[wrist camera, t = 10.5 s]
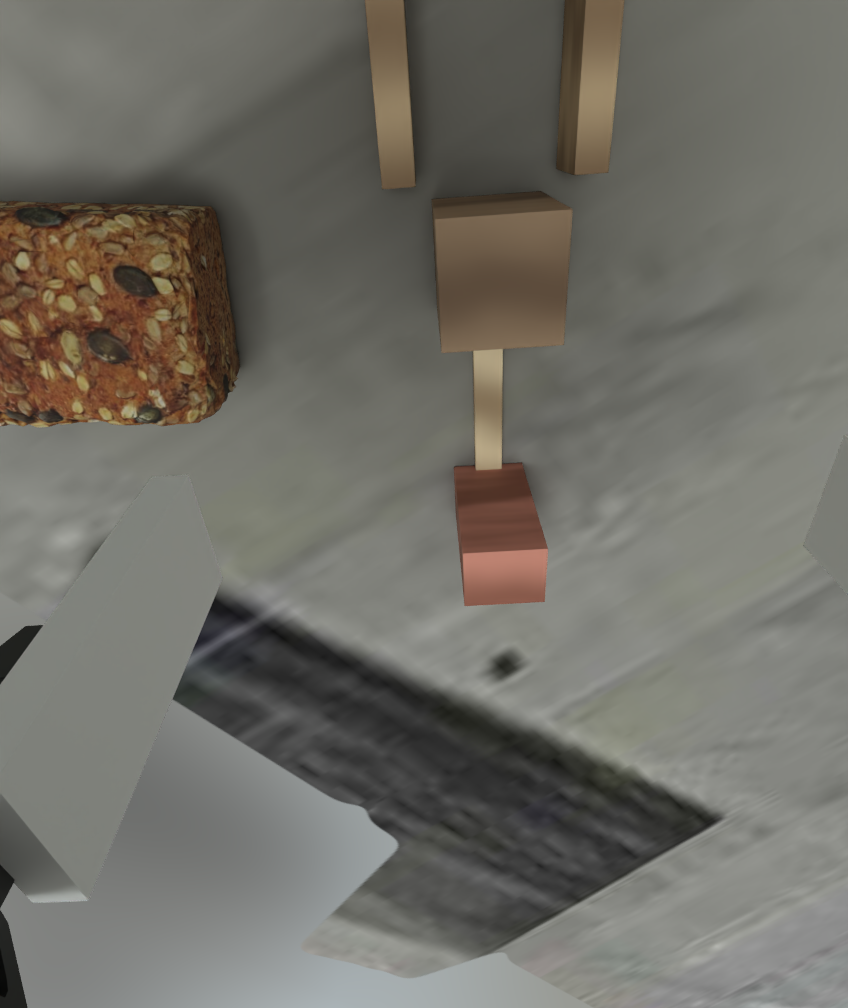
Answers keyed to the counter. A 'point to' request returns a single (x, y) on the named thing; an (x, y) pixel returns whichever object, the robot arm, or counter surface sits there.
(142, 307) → the bread
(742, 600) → the counter surface
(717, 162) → the counter surface
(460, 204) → the tethered block
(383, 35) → the frame
